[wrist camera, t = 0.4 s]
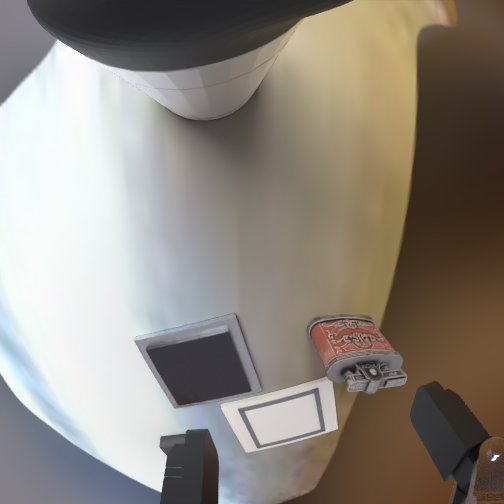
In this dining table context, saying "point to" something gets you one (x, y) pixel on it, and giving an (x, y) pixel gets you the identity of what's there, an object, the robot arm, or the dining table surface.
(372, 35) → the dining table surface
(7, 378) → the dining table surface
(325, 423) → the marked board
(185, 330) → the ink pad
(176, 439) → the stamp
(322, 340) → the lighter
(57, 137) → the dining table surface
